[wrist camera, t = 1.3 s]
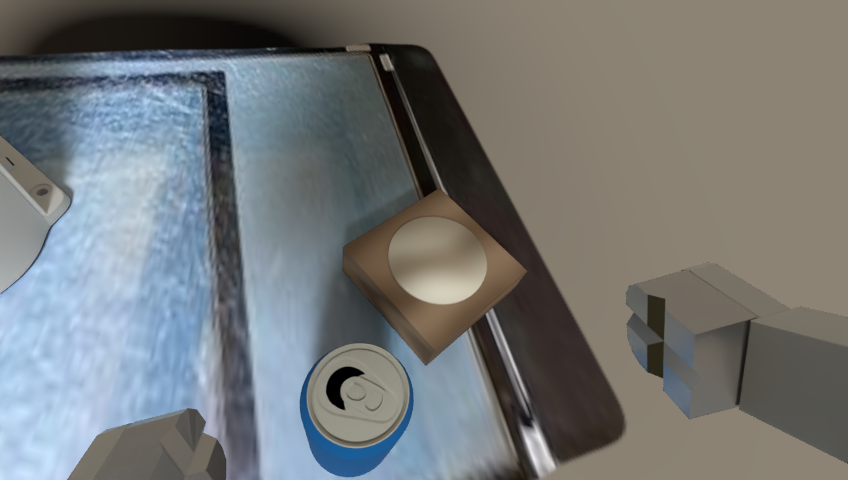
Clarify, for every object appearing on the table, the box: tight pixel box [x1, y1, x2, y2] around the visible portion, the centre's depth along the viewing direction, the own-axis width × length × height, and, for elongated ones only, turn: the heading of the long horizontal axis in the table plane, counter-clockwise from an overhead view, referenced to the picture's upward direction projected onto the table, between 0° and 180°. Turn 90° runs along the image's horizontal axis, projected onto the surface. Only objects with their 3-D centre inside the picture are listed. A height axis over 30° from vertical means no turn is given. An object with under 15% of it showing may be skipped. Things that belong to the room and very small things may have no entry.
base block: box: [342, 188, 527, 365], centre depth 40 cm, size 12×12×4 cm
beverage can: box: [300, 343, 414, 477], centre depth 28 cm, size 6×6×12 cm
